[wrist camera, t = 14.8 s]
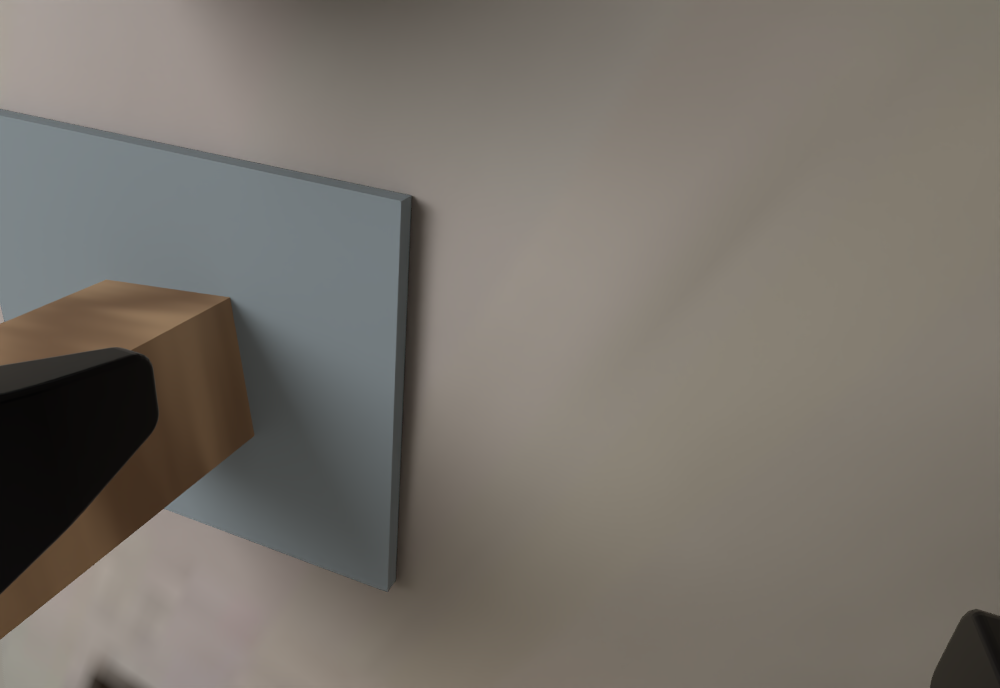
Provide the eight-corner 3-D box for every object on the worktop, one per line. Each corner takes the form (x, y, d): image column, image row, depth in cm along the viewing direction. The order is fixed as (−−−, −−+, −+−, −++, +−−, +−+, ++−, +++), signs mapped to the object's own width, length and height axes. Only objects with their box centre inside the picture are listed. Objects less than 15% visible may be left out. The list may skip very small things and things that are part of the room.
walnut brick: (229, 297, 24) (-283, 571, 13) (254, 435, 26) (-167, 772, 15) (106, 279, 25) (-443, 508, 14) (138, 411, 27) (-318, 698, 16)
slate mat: (411, 195, 21) (401, 201, 20) (395, 580, 27) (387, 592, 27) (-28, 103, 25) (-46, 105, 25) (48, 453, 32) (36, 460, 31)
